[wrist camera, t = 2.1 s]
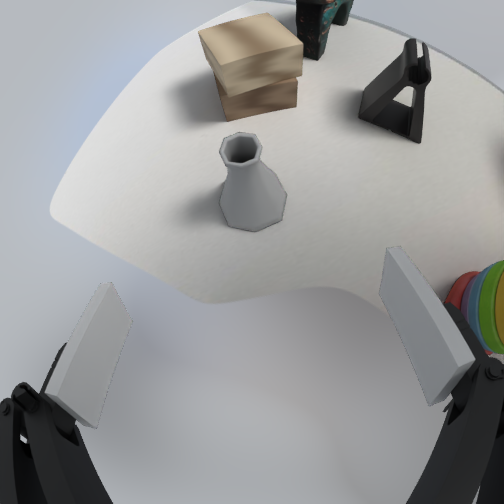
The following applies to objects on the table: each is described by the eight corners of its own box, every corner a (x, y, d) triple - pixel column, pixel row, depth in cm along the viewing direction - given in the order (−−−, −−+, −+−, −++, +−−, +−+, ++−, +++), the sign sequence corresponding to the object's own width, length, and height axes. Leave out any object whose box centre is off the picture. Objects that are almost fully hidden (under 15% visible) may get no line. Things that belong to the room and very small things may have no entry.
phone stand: (357, 117, 30) (379, 47, 18) (364, 90, 31) (382, 25, 19) (419, 144, 29) (459, 85, 17) (421, 114, 30) (453, 57, 18)
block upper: (269, 40, 29) (267, 12, 24) (302, 75, 27) (303, 43, 22) (206, 59, 29) (197, 31, 24) (228, 97, 27) (220, 65, 22)
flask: (282, 166, 30) (282, 107, 20) (291, 228, 28) (297, 185, 18) (218, 174, 30) (193, 120, 20) (221, 236, 28) (192, 199, 19)
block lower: (276, 67, 33) (275, 42, 28) (296, 108, 31) (297, 81, 26) (216, 80, 34) (209, 55, 29) (227, 122, 32) (219, 96, 27)
